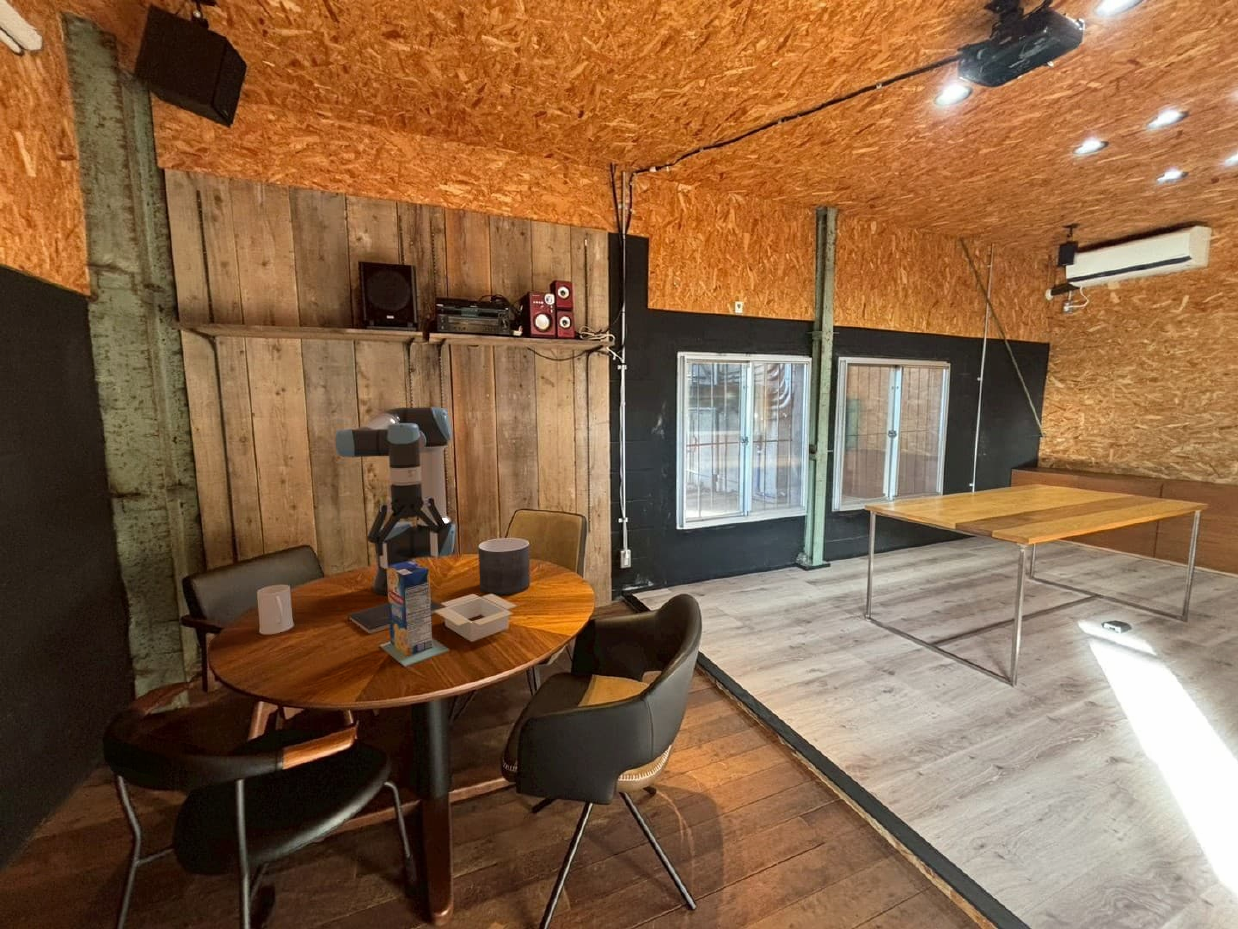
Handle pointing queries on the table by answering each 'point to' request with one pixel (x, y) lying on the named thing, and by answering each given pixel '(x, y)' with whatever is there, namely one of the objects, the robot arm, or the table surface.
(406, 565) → the beverage box
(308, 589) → the table surface
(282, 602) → the mug
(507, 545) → the planter
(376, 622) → the hardcover book
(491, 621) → the carton
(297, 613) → the table surface
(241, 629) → the table surface
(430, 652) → the mat
